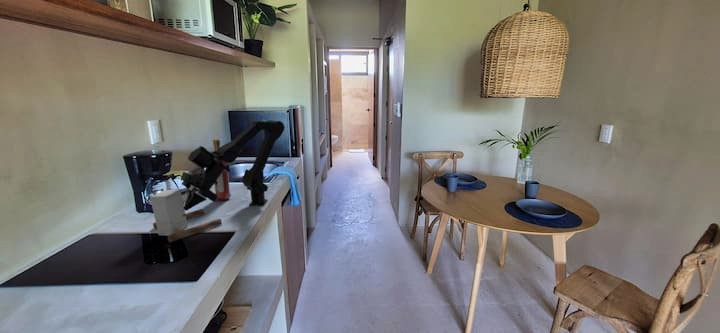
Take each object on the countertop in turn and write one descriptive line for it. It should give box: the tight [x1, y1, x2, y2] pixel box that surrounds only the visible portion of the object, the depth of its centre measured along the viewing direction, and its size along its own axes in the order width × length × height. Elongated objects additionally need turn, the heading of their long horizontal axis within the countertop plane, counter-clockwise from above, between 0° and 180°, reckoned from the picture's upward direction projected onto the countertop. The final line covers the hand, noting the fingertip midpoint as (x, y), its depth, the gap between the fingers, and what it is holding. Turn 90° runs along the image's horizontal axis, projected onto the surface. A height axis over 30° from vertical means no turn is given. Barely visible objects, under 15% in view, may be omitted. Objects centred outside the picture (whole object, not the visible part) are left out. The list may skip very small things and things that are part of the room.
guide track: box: [152, 208, 222, 243], centre depth 115 cm, size 18×16×4 cm
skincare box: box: [149, 189, 188, 237], centre depth 110 cm, size 8×6×15 cm
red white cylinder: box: [212, 138, 232, 201], centre depth 139 cm, size 7×7×28 cm
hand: (184, 209), depth 114 cm, fingers closed, pressing on skincare box
